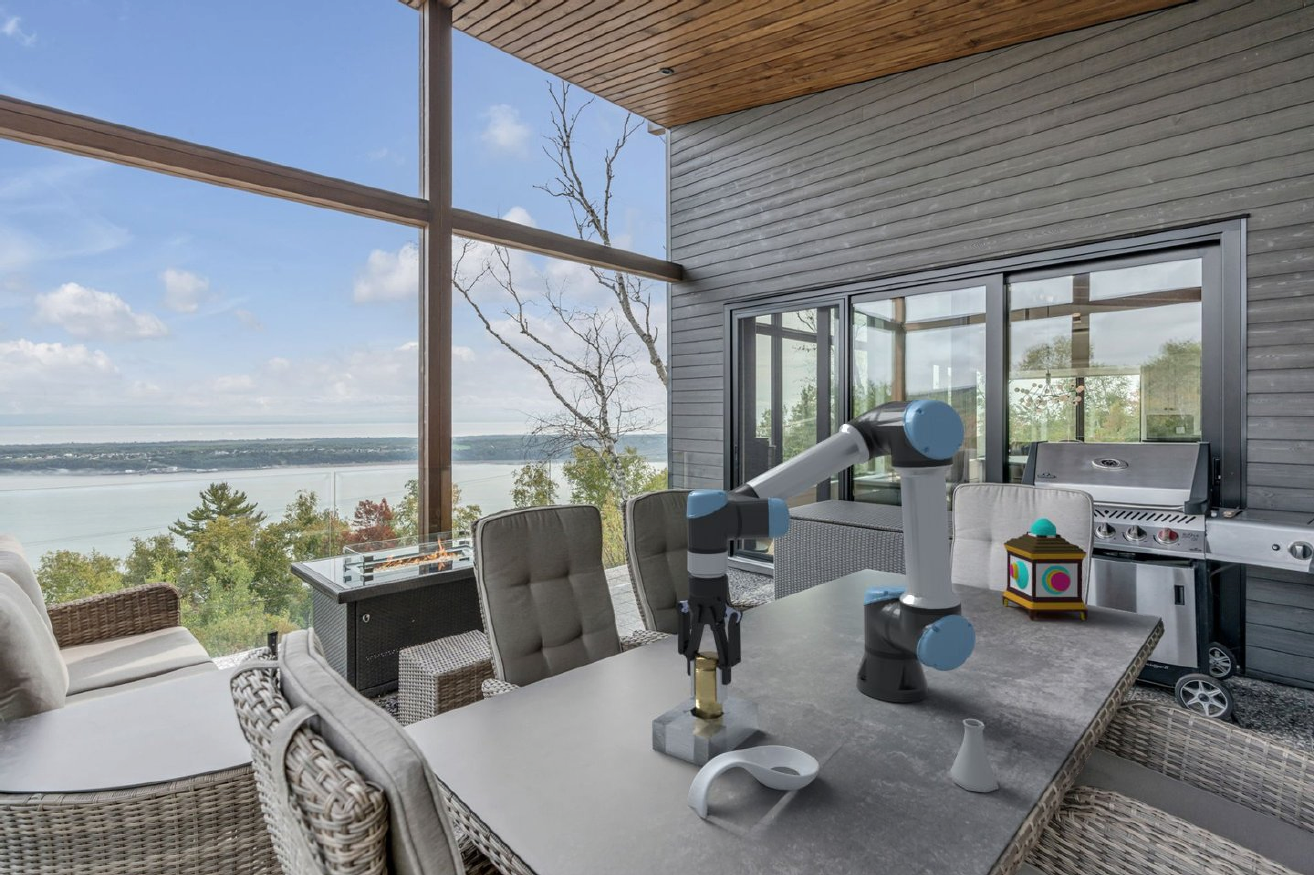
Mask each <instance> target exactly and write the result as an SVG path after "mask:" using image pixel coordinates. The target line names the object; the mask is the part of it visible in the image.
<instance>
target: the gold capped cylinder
mask: <svg viewBox="0 0 1314 875" xmlns="http://www.w3.org/2000/svg"><path fill="white" fill-rule="evenodd" d="M718 666H720V662H719V658H718V653H717V651H709V650H707V651H706V650H705V651H700V652H698V653H697V654H696V655H695V668H696V717H697V718H701V719H717V718H719V717H720V716H722V715H723V702H722V703H721V704H719V703H717V681H716V667H718Z"/></svg>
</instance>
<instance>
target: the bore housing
mask: <svg viewBox="0 0 1314 875" xmlns="http://www.w3.org/2000/svg"><path fill="white" fill-rule="evenodd" d="M757 731H759V703H758V702H754V701H750V700H746V699H744V698H741V697H735V696H732V695H730V694H728V699H727V700H725V701H724V702H723V715H722V716H720V717H719V718H717V719H701V718H697V717H696V695H695V696H691V697H690V698H688V699H686V700H685V701H683V702H682V703H680V704H678V705H677V706H675V707H673V708H671V709H670V710H668V711H666V712H665V713H663V714H662V715H660V716H658V717H657V718H655V719H653V720H652V729H651V732H652V735H651V736H652V740H651V742H652V749H653V750H656V751H658V752H661V753H664V754H667V755H669V756H673V757H675V758H678V759H680V760H683V761H686V762H688V763H691V764H694V765H697V766H699V767H701V768H703V767H704V766H705V765H706V764H707V763H708V762H709V761H711V760H712V759H713V758H715V757H717V756H718V755H721V754H723V753H726V752H730V751H734V750H735V748H737V747H739V745H741V744H742V743H743V742H745V741H746V740H747V739H748V738H750V737H751V736H752V735H753V734H754V733H756V732H757Z"/></svg>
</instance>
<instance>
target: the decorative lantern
mask: <svg viewBox="0 0 1314 875" xmlns="http://www.w3.org/2000/svg"><path fill="white" fill-rule="evenodd" d="M1003 546H1004V548H1005V551H1006V554H1007V555H1006V560H1007V562H1006V567H1007V568H1006V569H1007V570H1006V574H1007V575H1006V577H1007V578H1006V579H1007V580H1006V584H1007V585H1006V589H1005V590H1004V592H1003V595H1002V596H1001V598H1002V599H1001V600H1002V602H1001V603H1002V605H1003V606H1004V607H1008V606H1009V602H1010V603H1013V604H1015V605H1017V606H1019V607H1021V608H1023V609H1025V610H1026V611H1027V612H1028V617H1029V620H1030V621H1034V620H1035V618H1036V617H1035V616H1036V614H1037V613H1041V612H1043V613H1048V612H1050V613H1052V612H1056V613H1058V612H1059V613H1060V612H1061V613H1062V612H1065V613H1067V612H1068V613H1069V612H1071V613H1072V612H1076V613H1077V612H1078V613H1079V612H1080V615H1079V616H1080V618H1081V620H1082V621H1087V619H1088V615H1089V614H1088V613H1089V611H1088V608H1087V606H1086V603H1084V600H1083V561H1084V559H1085V557H1086V555H1087V551H1084V549H1083V548H1082V547H1079V545H1078V544H1073V543H1071V542H1069V541H1067V540H1066V539H1065V538H1064V537H1062V535H1061V534H1058V533H1057V527H1056V526H1055V524H1054V523H1053V522H1052V521H1051V520H1049V519H1047V518H1044V517H1043V518H1039V519H1036V520H1035V521H1034V522H1033V523H1032V524H1031V526H1030V531H1026V533H1024V534H1022V535H1021V536H1019V537H1016V538H1015V537H1014V538H1013V537H1012V538H1010V539H1009V540H1007V541H1006V542H1004V543H1003Z"/></svg>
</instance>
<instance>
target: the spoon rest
mask: <svg viewBox="0 0 1314 875" xmlns="http://www.w3.org/2000/svg"><path fill="white" fill-rule="evenodd" d="M735 767H740V768H743V769H745V771H747V772H748V773H749V774H750V775H752V776H753V777H754V778H755V779H756V780H757V781H759V782H760V784H762V785H763V786H765V787H768V788H771V789H773V790H778V791H787V793H792V792H794V791H797V790H801V789H803V788H805V787H806V786H809V785H810V783H812V782H813V781H814V780H815V778H816V777H817V776H818V774H819V772H820V764H819V762H818V761H817V760H816V758H814V757H813V756H812V755H810V754H808V753H806V752H805V751H802V750H800V749H797V748H793V747H789V746H784V745H774V744H773V745H761V746H760V745H759V746H755V747H749V748H745V749H737V750H732V751H730V752H726V753H723V754H721V755H718V756H717V757H715V758H713V759H712V760H711V761H709V762H708V763H707V764H706V765H705V766H704V767H701V769H700V770H699V771H698V773H697V774H696V776H695V778H694V779H693V781H692V782H691V785H690V788H689V790H688V791H689V792H688V794H687V801H688V802H689V803H690V804H691V805H688V806H689V808H690V809H691V810H692V811H694V812H695V813H696V814H697V815H698V816H699V817H701V818H702V819H706V818H707V817H708V805H709V804H708V802H709V794H710V790H711V788H712V786H713V784H714V782H715V781H716V779H717V778H718V777H719V776H720V775H722V774H723V773H724V772H726V771H727V770H729V769H732V768H735ZM779 767H780V768H781V767H783V768H789V769H791V770H794V771H796V773H798V774H799V775H796V774H788V773H785V772H780V771H777V770H774V769H773V768H779Z"/></svg>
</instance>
